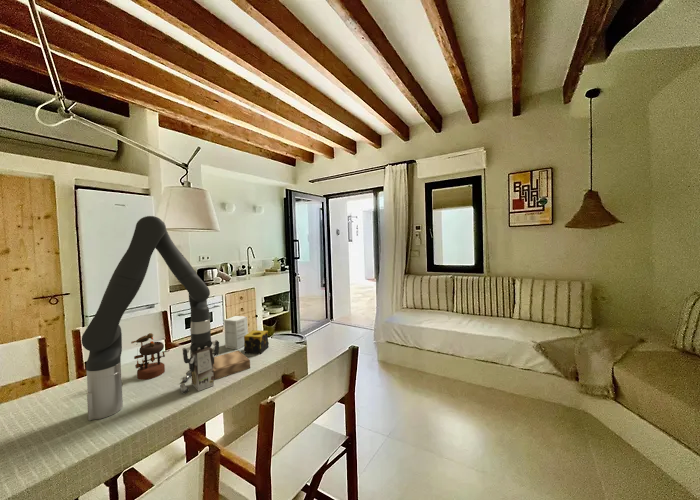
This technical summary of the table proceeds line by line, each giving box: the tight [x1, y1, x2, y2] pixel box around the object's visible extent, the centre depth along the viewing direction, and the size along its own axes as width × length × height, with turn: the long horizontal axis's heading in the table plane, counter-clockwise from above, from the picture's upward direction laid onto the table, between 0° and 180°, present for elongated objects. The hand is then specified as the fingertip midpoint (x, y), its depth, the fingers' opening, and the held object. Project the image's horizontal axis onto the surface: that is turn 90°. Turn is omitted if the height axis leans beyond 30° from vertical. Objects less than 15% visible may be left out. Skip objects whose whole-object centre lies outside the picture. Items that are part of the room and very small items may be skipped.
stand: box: [213, 349, 251, 380], centre depth 131 cm, size 16×16×4 cm
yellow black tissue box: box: [243, 329, 270, 355], centre depth 152 cm, size 10×10×10 cm
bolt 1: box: [182, 369, 192, 383], centre depth 121 cm, size 6×3×3 cm, turn 11°
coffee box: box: [189, 346, 215, 392], centre depth 115 cm, size 9×6×16 cm
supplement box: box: [223, 315, 249, 350], centre depth 159 cm, size 10×9×17 cm
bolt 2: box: [179, 382, 190, 394], centre depth 111 cm, size 6×3×3 cm, turn 41°
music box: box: [130, 332, 170, 381], centre depth 127 cm, size 15×11×20 cm
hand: (202, 368), depth 115 cm, fingers closed on coffee box, 6 cm apart
